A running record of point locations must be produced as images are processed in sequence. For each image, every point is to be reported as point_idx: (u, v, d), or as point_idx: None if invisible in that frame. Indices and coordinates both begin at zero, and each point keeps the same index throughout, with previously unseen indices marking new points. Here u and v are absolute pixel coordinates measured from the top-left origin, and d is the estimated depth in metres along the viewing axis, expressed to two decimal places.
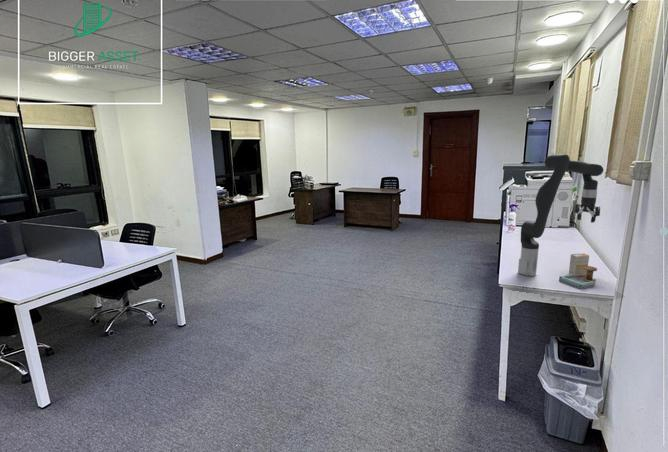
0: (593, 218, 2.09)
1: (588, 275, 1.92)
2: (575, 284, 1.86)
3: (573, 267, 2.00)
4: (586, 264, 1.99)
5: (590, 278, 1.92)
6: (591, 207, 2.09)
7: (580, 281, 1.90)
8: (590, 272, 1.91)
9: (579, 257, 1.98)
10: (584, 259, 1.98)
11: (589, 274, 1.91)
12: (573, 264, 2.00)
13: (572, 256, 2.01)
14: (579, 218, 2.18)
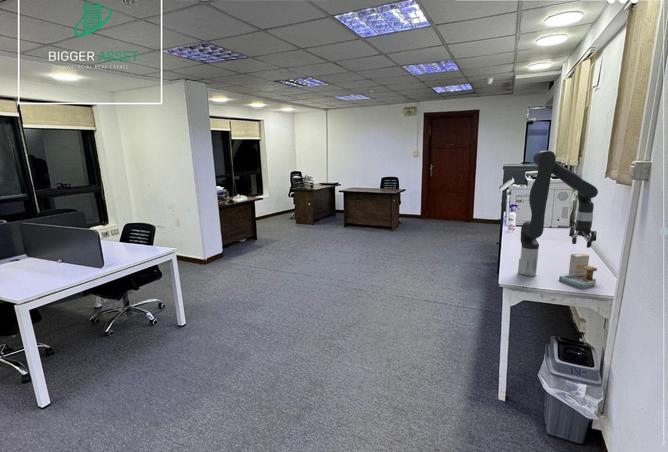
0: (589, 243, 1.93)
1: (588, 275, 1.92)
2: (575, 284, 1.86)
3: (573, 267, 2.00)
4: (586, 264, 1.99)
5: (590, 278, 1.92)
6: (587, 231, 1.93)
7: (580, 281, 1.90)
8: (590, 272, 1.91)
9: (579, 257, 1.98)
10: (584, 259, 1.98)
11: (589, 274, 1.91)
12: (573, 264, 2.00)
13: (572, 256, 2.01)
14: (574, 242, 2.02)
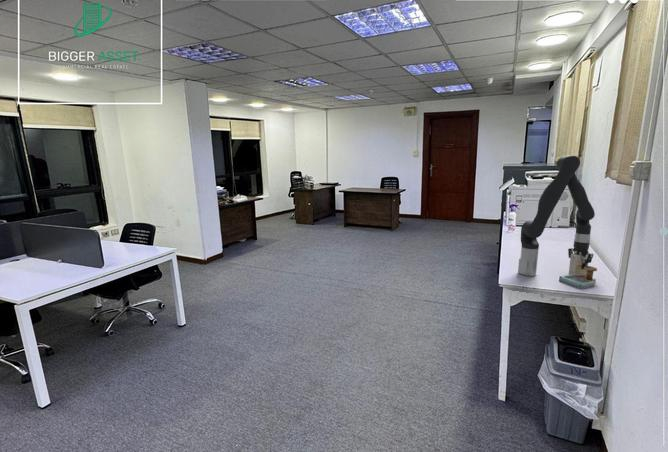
0: (584, 265, 1.97)
1: (588, 275, 1.92)
2: (575, 284, 1.86)
3: (573, 267, 2.00)
4: None
5: (590, 278, 1.92)
6: (584, 253, 1.96)
7: (580, 281, 1.90)
8: (590, 272, 1.91)
9: (579, 257, 1.98)
10: None
11: (589, 274, 1.91)
12: (573, 264, 2.00)
13: (572, 256, 2.01)
14: None
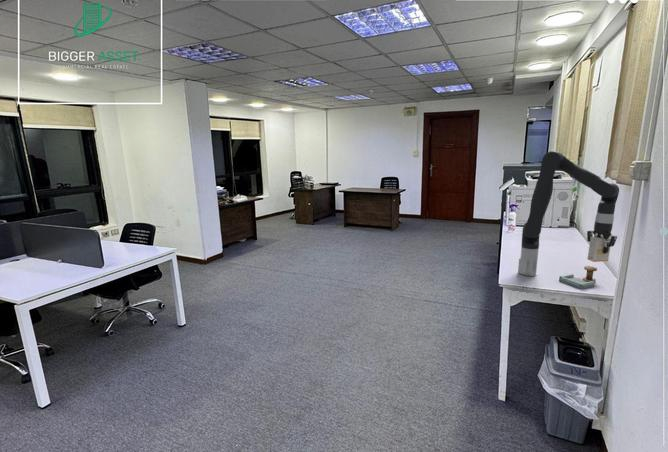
0: (606, 248, 1.75)
1: (588, 275, 1.92)
2: (575, 284, 1.86)
3: (593, 251, 1.78)
4: None
5: (590, 278, 1.92)
6: (606, 235, 1.74)
7: (580, 281, 1.90)
8: (590, 272, 1.91)
9: (601, 240, 1.76)
10: None
11: (589, 274, 1.91)
12: (593, 247, 1.78)
13: (592, 239, 1.79)
14: None
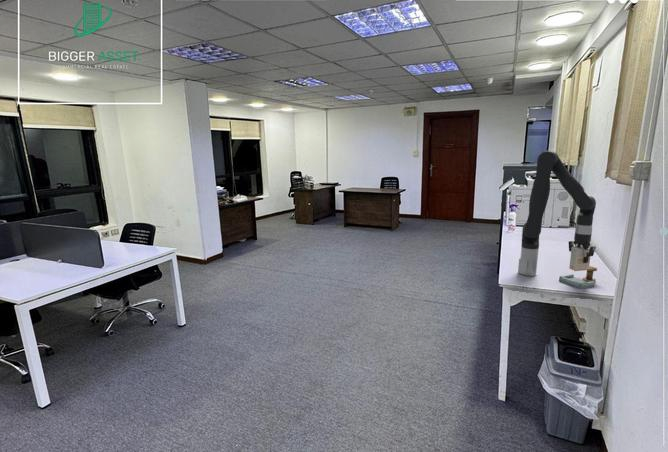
0: (586, 258, 1.84)
1: (588, 275, 1.92)
2: (575, 284, 1.86)
3: (574, 261, 1.87)
4: None
5: (590, 278, 1.92)
6: (586, 246, 1.82)
7: (580, 281, 1.90)
8: (590, 272, 1.91)
9: (580, 250, 1.84)
10: (586, 252, 1.84)
11: (589, 274, 1.91)
12: (574, 257, 1.86)
13: (573, 249, 1.87)
14: None
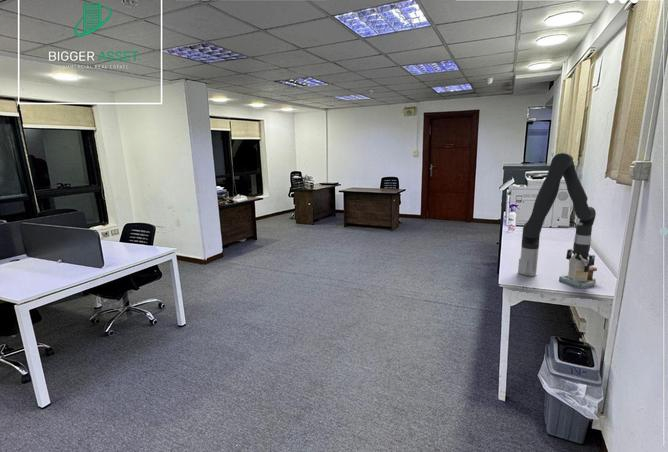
0: (587, 267, 1.84)
1: (588, 275, 1.92)
2: (575, 284, 1.86)
3: (572, 273, 1.88)
4: None
5: (590, 278, 1.92)
6: (584, 255, 1.84)
7: None
8: (590, 272, 1.91)
9: (579, 262, 1.86)
10: (584, 264, 1.86)
11: (589, 274, 1.91)
12: (572, 269, 1.88)
13: (571, 261, 1.88)
14: None
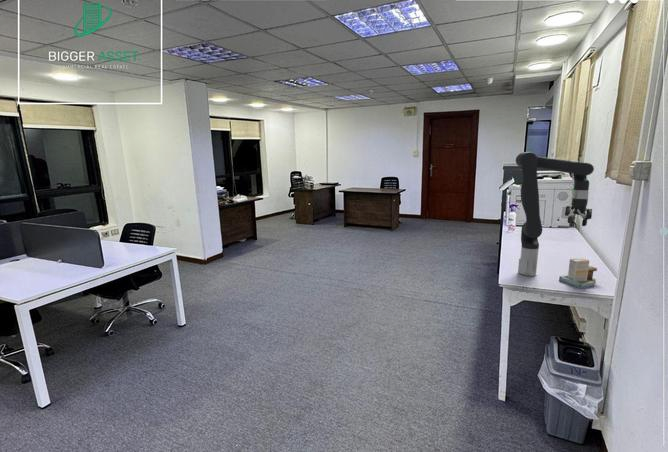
0: (584, 221, 1.91)
1: (588, 275, 1.92)
2: (575, 284, 1.86)
3: (572, 273, 1.88)
4: (586, 270, 1.87)
5: (590, 278, 1.92)
6: (582, 209, 1.92)
7: None
8: (590, 272, 1.91)
9: (579, 262, 1.86)
10: (584, 264, 1.86)
11: (589, 274, 1.91)
12: (572, 269, 1.88)
13: (571, 261, 1.88)
14: (570, 221, 2.00)
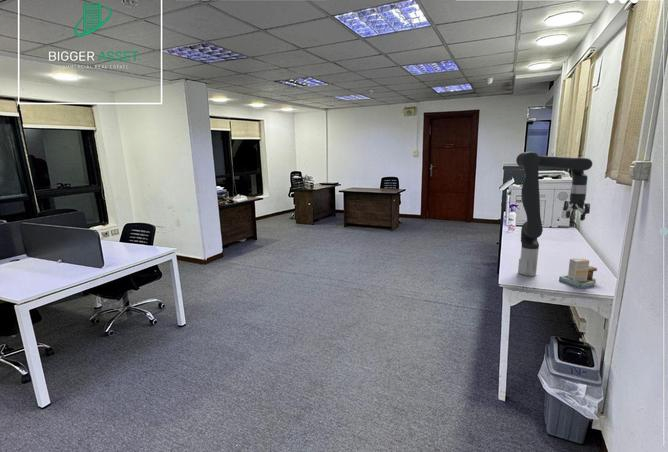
0: (582, 216, 1.94)
1: (588, 275, 1.92)
2: (575, 284, 1.86)
3: (572, 273, 1.88)
4: (586, 270, 1.87)
5: (590, 278, 1.92)
6: (580, 204, 1.94)
7: None
8: (590, 272, 1.91)
9: (579, 262, 1.86)
10: (584, 264, 1.86)
11: (589, 274, 1.91)
12: (572, 269, 1.88)
13: (571, 261, 1.88)
14: (568, 216, 2.03)
